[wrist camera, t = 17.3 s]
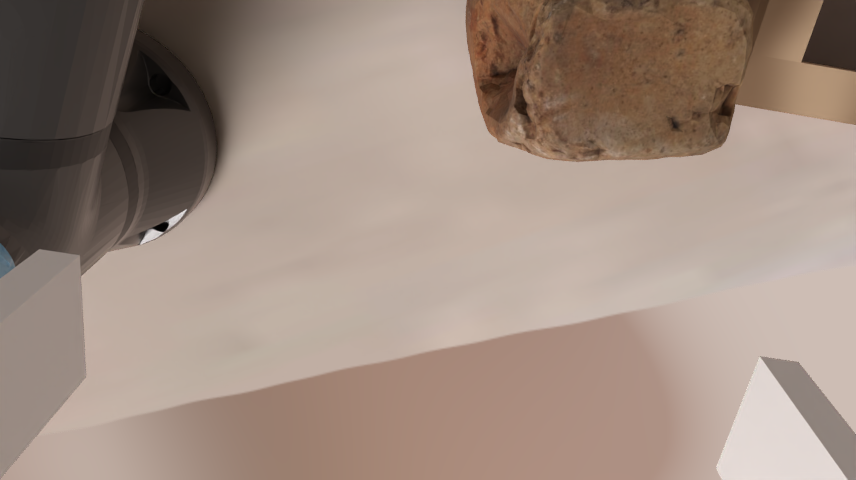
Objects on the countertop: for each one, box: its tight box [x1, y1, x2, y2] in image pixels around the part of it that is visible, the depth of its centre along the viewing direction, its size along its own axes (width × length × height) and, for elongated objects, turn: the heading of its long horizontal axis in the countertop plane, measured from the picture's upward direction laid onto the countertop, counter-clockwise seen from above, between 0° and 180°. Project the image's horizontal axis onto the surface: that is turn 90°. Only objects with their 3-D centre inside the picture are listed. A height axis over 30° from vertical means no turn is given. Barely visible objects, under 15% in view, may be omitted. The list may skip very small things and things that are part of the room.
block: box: [466, 0, 754, 162], centre depth 35 cm, size 11×8×20 cm
